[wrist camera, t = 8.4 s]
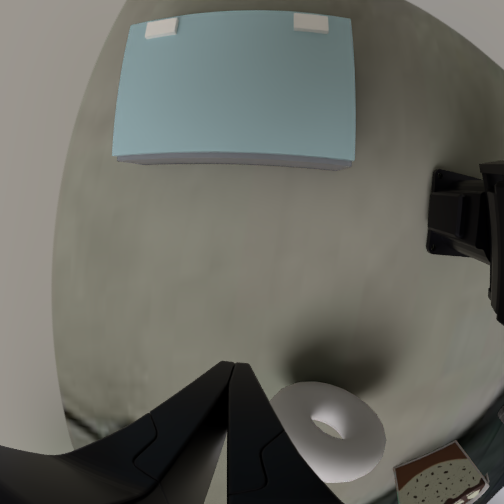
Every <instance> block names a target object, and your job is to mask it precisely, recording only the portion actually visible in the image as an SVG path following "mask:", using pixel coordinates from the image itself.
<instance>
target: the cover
mask: <svg viewBox="0 0 504 504" xmlns="http://www.w3.org/2000/svg"><path fill="white" fill-rule="evenodd" d="M355 132H356V101H355V69H354V51H353V38H352V27H351V19H349V18H343V17H337V16H330V15H323V14H315V13H305V12H293V11H273V10H239V11H219V12H207V13H197V14H189V15H181V16H175V17H169V18H163V19H157V20H152V21H147V22H143V23H138V24H134V25H131V27H130V31H129V35H128V40H127V44H126V49H125V54H124V59H123V65H122V70H121V76H120V83H119V90H118V97H117V105H116V114H115V124H114V135H113V149H112V156H127V155H142V154H161V153H201V152H218V153H258V154H278V155H294V156H306V157H318V158H328V159H337V160H346V161H354V160H355Z"/></svg>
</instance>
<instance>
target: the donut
mask: <svg viewBox="0 0 504 504" xmlns="http://www.w3.org/2000/svg"><path fill="white" fill-rule="evenodd" d="M269 402H270V404H271V406H272V407H273V409H274V411H275V413H276V415H277V416H278V418H279V420H280V422H281V424H282V425H283V427H284V429H285V432H287V434H288V436H289V437H290V439H291V441H292V442H293V444H294V445H295V447H296V449H297V450H298V452H299V453H300V455H301V456H302V457H303V458H304V460H305V461H306V462H307V463H308V465H309V466H310V467H311V468H312V469H313V471H314V472H315V473H316V474H317V475H318V476H319V477H320V479H321V480H322V481H323V482H327V483H336V482H348V481H352V480H355V479H357V478H359V477H362V476H364V475H366V474H367V473H369V472H370V471H371V470H372V469H373V468H374V467H375V466H376V465H377V464H378V462H379V461H380V460H381V458H382V457H383V453H384V448H385V444H386V437H385V432H384V428H383V424H382V423H381V421H380V419H379V418H378V416H377V414H376V413H375V412H374V411H373V410H372V409H371V408H370V407H369V406H368V405H367V404H366V403H365V402H364V401H362V400H361V399H360V398H358V397H357V396H356V395H354V394H352V393H350V392H348V391H346V390H344V389H342V388H339V387H337V386H334V385H331V384H328V383H322V382H316V381H312V382H298V383H295V384H292V385H289V386H287V387H285V388H283V389H281V390H280V391H279V392H278V393H277V394H276V395H275V396H274V397H273V398H272V399H271V400H270V401H269ZM312 420H318V421H321V422H324V423H326V424H328V425H330V426H331V427H333V428H334V429H335V430H336V431H338V433H339V434H340V435H341V436H342V438H343V439H339V438H336V437H332V436H330V435H329V434H327V433H325V432H323V431H322V430H321V429H320V428H318V427H317V426H316V425H315V424H314V422H313V421H312Z"/></svg>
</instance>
